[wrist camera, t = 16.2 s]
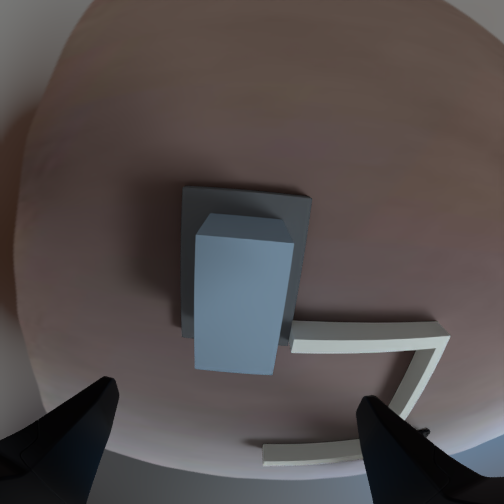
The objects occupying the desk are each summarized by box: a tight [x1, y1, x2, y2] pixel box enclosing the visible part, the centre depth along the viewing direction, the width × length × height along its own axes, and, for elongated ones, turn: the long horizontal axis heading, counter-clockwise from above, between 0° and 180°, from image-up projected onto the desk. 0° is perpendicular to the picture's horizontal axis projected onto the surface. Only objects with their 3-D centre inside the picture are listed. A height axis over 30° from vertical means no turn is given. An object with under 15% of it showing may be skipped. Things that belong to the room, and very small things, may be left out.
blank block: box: [194, 213, 294, 375], centre depth 17 cm, size 4×8×5 cm, turn 175°
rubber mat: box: [181, 186, 312, 346], centre depth 20 cm, size 11×8×1 cm
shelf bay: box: [262, 320, 450, 466], centre depth 23 cm, size 18×14×2 cm
